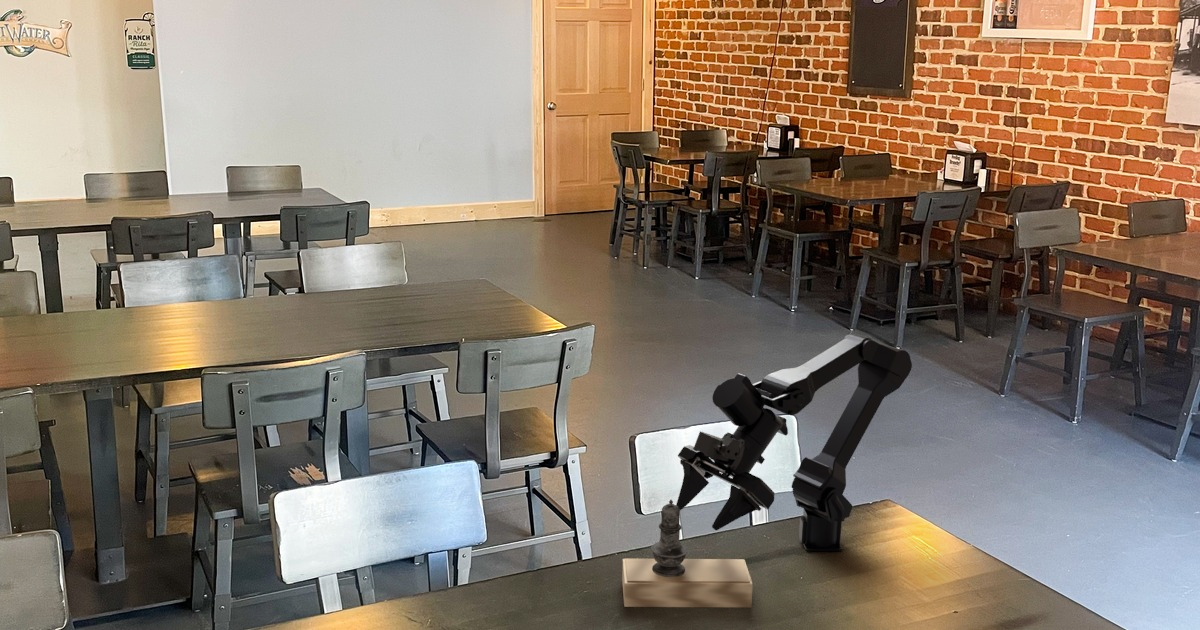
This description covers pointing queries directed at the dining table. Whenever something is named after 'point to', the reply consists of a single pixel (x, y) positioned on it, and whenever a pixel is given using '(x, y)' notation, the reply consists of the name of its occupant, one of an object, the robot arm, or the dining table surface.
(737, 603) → the tan wooden block
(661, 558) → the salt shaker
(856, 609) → the dining table surface
